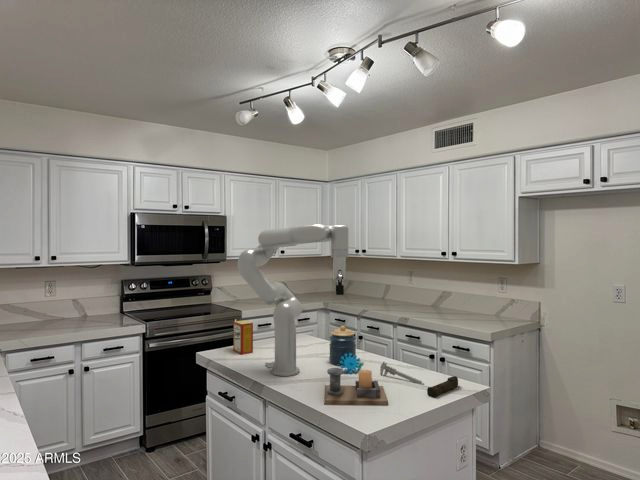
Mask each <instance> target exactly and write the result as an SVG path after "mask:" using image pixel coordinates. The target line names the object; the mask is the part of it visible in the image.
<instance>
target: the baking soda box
mask: <svg viewBox="0 0 640 480" xmlns="http://www.w3.org/2000/svg"><path fill="white" fill-rule="evenodd" d="M232 323H233V327H232V329H233V331H232V333H233V334H232V336H233V339H232V340H233V342H232V343H233V345H232V346H233V349H232V351H233V352H235V353H237V354H239V355H241V356H243V355H248V354H254V323H253V322H252V321H249V320H245V319H242V320H234V321H232Z"/></svg>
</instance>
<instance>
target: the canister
mask: <svg viewBox="0 0 640 480" xmlns="http://www.w3.org/2000/svg"><path fill="white" fill-rule="evenodd" d="M330 334H331V335H330V336H329V337H328V338H329V340H330V341H329V344H328V345H329V358H328V360H329V362H330V364H332V365H336V366H341V365H343V366H345V365H344V364H340V361H342V362H344V361H343V360H342V359H341V357H342V356H343V357H344V359H346V358H345V356H344V354H347V358H348V357H349V353H352V356H350V357H353V356H354V355H356V356H357V353H356V352H357V347H356V346H357V344H356V340H357V337H356V335H355V332H354V331H353V330H351V329H349V328H346V325H341V326H340V327H339V328H336V329H334V330H333V331H331V333H330ZM354 359H357V357H356V358H354Z"/></svg>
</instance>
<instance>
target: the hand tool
mask: <svg viewBox="0 0 640 480" xmlns="http://www.w3.org/2000/svg"><path fill="white" fill-rule="evenodd" d="M458 387H459V379H458V376H455V375H454V376H450V377H448V378H447V379H446V381H443V382H441V383H438V384H435V385H433V386H428V387H427V389H426V392H427V393H426V394H427V396H428V397H430V398H433V397H434V399H435V398H436V397H438V396H439V395H440V394H443V393H446V392H447V391H450V390H455V389H457V388H458Z"/></svg>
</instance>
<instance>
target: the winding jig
mask: <svg viewBox="0 0 640 480" xmlns="http://www.w3.org/2000/svg"><path fill="white" fill-rule="evenodd" d="M326 370H327V371H326V372H327V374H328V375H329V384H328V385H326V384H325V385H324V400H323V402H324V405H337V406H338V405H346V406H347V405H348V406H349V405H350V406H351V405H352V406H389V400H388V396H387V393H386V391H385V388H384V385H379V382H378V380H372V388H359V380H355V385H341V375H343V374H344V368H343V369H342V368H340V367H331V368H327V369H326Z"/></svg>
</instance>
